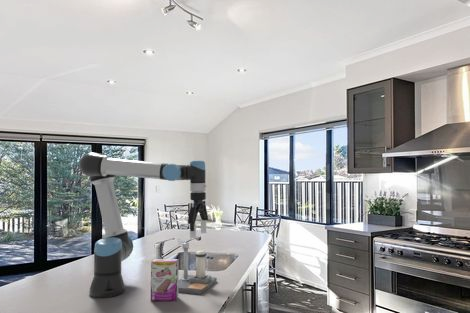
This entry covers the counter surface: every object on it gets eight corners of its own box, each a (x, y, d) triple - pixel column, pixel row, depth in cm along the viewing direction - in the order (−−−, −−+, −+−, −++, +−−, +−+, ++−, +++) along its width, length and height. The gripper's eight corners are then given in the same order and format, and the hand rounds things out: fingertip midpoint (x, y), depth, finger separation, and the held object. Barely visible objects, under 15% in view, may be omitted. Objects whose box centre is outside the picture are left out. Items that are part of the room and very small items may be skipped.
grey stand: (201, 294, 156) (201, 256, 157) (167, 291, 161) (168, 253, 162) (217, 281, 175) (217, 247, 176) (187, 278, 180) (187, 245, 181)
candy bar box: (150, 301, 147) (150, 261, 148) (152, 297, 152) (153, 258, 153) (177, 301, 148) (177, 261, 149) (178, 297, 153) (178, 258, 154)
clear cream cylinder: (203, 283, 166) (203, 253, 166) (193, 282, 167) (193, 252, 168) (207, 280, 171) (207, 250, 171) (198, 279, 172) (198, 250, 173)
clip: (182, 243, 185) (182, 238, 185) (189, 248, 171) (189, 243, 172) (176, 243, 184) (176, 239, 184) (183, 249, 170) (183, 244, 170)
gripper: (195, 193, 161) (195, 240, 160) (213, 190, 185) (214, 231, 184) (180, 193, 164) (180, 239, 162) (200, 190, 187) (200, 231, 186)
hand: (198, 235), depth 173 cm, fingers open, 13 cm apart
